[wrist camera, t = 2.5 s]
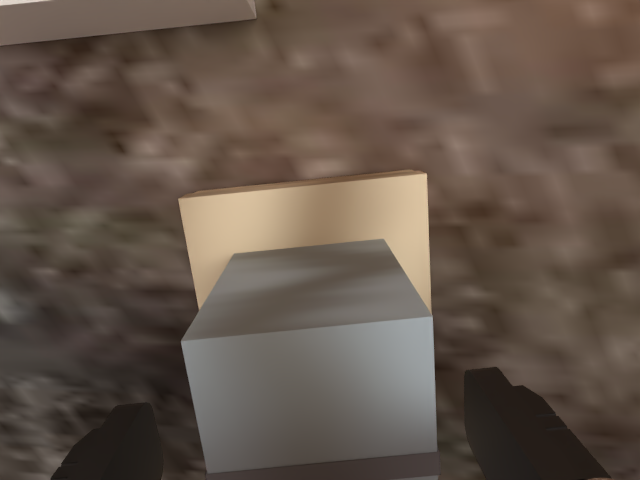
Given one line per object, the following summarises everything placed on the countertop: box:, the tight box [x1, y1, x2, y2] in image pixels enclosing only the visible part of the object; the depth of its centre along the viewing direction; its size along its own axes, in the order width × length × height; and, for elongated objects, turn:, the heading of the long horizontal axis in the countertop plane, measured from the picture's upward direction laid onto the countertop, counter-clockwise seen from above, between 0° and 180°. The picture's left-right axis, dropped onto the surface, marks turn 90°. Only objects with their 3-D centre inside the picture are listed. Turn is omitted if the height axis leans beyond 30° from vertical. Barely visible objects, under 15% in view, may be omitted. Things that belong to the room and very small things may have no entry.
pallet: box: [178, 169, 441, 480], centre depth 13 cm, size 8×11×8 cm
